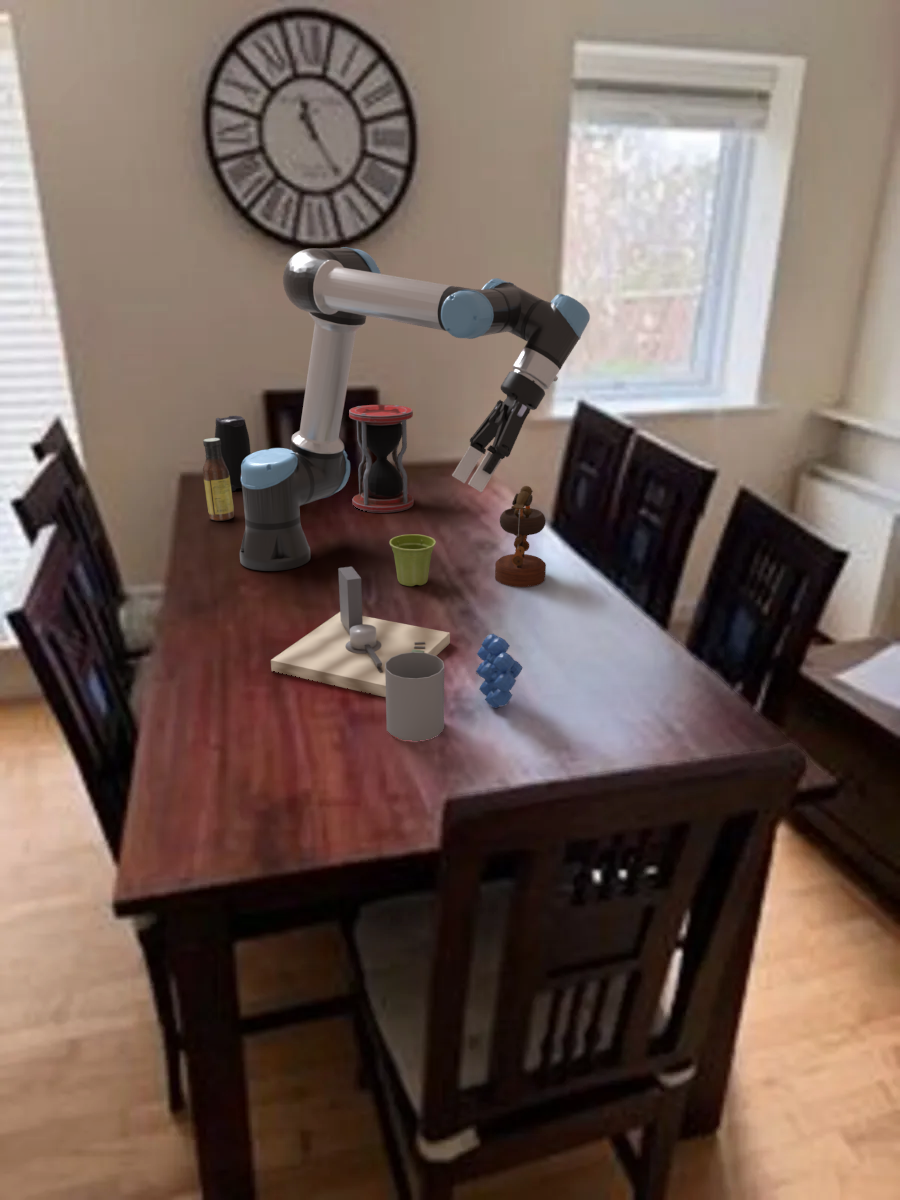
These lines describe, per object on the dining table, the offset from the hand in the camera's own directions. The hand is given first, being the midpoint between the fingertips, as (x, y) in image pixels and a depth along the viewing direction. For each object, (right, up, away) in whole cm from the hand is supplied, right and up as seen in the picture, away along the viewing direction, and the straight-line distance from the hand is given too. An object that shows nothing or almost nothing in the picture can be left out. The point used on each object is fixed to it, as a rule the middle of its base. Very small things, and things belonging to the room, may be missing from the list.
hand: (465, 484), depth 158 cm
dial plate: (-17, -30, -9) cm, 36 cm away
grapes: (+5, -37, -24) cm, 45 cm away
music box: (+12, -16, +26) cm, 33 cm away
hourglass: (-21, +4, +75) cm, 78 cm away
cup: (-8, -39, -30) cm, 50 cm away
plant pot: (-10, -17, +23) cm, 31 cm away
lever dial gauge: (-18, -28, -10) cm, 34 cm away
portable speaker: (-63, +10, +89) cm, 110 cm away
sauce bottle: (-60, 0, +63) cm, 87 cm away
